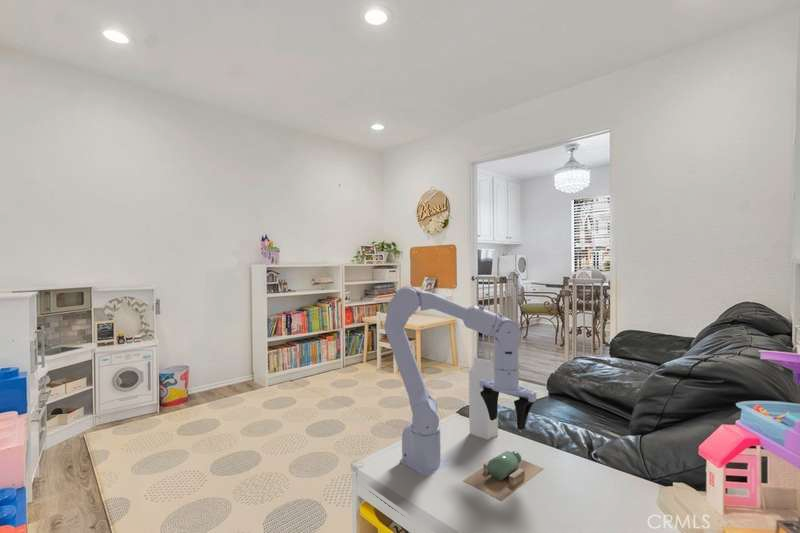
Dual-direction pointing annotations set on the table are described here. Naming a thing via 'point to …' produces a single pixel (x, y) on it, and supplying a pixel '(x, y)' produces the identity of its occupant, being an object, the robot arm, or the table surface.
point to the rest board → (505, 486)
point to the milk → (480, 400)
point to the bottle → (504, 465)
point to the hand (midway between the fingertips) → (506, 423)
